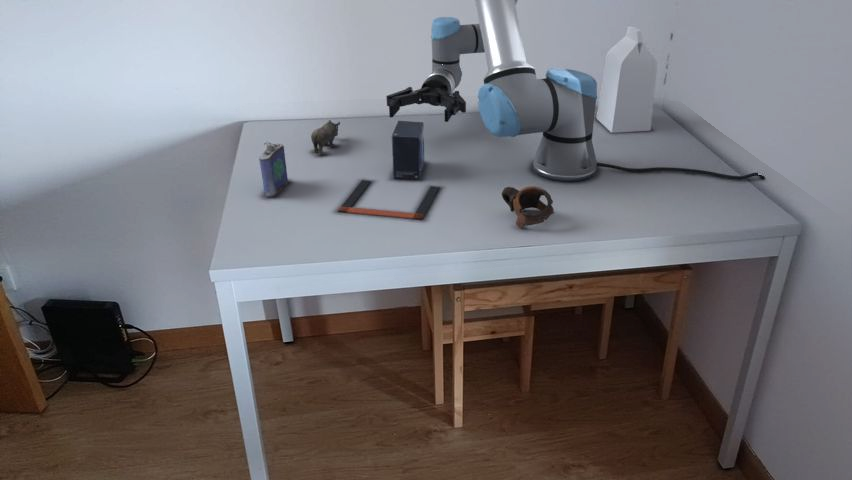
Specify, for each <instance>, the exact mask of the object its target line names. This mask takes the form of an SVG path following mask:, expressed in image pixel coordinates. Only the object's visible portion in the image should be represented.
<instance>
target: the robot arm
mask: <svg viewBox="0 0 852 480" xmlns="http://www.w3.org/2000/svg"><path fill="white" fill-rule="evenodd" d="M518 1H519V0H474V2H475V8H476V9H475V10H476V13H477V19H478V23H471V24H461V23H460V20H459V19H458V18H457V17H453V16H439V17H435V18H434V19H433V20H432V22H431V35H430V38H431V68H432V69H431V73H430V74H429V76H428V77H427V78H426V79H425V80H424V82H423V83H422V84H421V87H420V88H418V89H416V90H414V89H413V87H412V86H408V87H406V88H405V89H401V90H399V91H397V92H393V93H391V94H388V95H386V96H385V97H386V106H387V107H388V110H389V111H388V113H389V114H388V115H389V118H394V117H395V115H396V114H397V113H398V112H399V111H400V110H401V107H406V106H411V105H414V104H417V105H423V104H427V105H428V104H429V105H430V106H433V107H444V108H445V109H444V122H445V123H448V122H449V121H450V119H451V118H452V116H456V115H457V113H459V112H461V113H466V112H467V102H466V101H465V99H464V98H463V97H462V95H460V91H459V90H455V89H456V88H457V87H458V86H459V85H460V83H461V82H462V78H461V77H463V70H462V71H461V69H462V67H461V65H460V61H461V60H460V59H461V57H460V56H461V55H467V54H470V55H471V54H482V53H484V54H485V60H486V65H487V69H488V70H487V72H486V74H485V76H484V77H483V85H481V86H480V88H479V90H478V94H477V99H478V102H477V104H478V110H479V114H480V117H481V120H482V123H483V124H484V126H485V127H486V129H487V131H489V132H490V134H492V135H493V136H495V137H498V138H504V137H509V138H516V137H517V136H520V135H521V136H522V135H531V134H538V133H542V137H541V140H540V142H539V144H538V146H537V149H536V152H535V155H534V156H533V160H532V169H533V171H534V172H535V173H536V174H538V175H539V176H540V177H543V178H546V179H549V180H553V181H559V182H579V181H584V180H589V179H590V178H592V177H594V176H595V175H596V173H597V170H598V169H597V167H602V168H609V169H614V170H618V171H623V172H631V173H643V172H644V173H645V172H660V171H661V172H663V171H665V172H681V173H682V172H684V173H693V174H700V175H701V174H702V175H708V176H713V177H717V178H723V179H729V180H746V179H749V178H753V177H759V178H760V179H762V180H766V177H765V176H764V175H763V174H762V175H763V176H762V175H758V173H759V172H751V173H748V174H744V175H731V174H725V173H720V172H715V171H709V170H703V169H694V168H686V167H685V168H684V167H670V166H669V167H668V166H665V167H664V166H657V167H655V166H654V167H640V168H639V167H638V168H634V167H633V168H631V167H625V166H621V165H620V166H619V165H615V164H610V163H603V162H598V161H597V157H596V153H595V148H594V144H593V133H594V132H593V131H594V124H595V123H594V122H595V115H596V104H597V99H598V82H597V80H596V78H594V76H592V75H590V74H588V73H586V72H583V71H579V70H575V69H570V68H562V67H554V68H550V69H547V70H546V73H545V77H544V78H538V77H537V74H536V69H535V67H534V66H532V65H531V64H529V63H528V61H527V57H526V53H525V48H524V43H523V38H522V33H521V27H520V21H519V17H518V12H517V7H516V6H517V3H518ZM442 64H443V65H442ZM460 67H461V68H460Z"/></svg>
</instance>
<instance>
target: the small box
mask: <svg viewBox="0 0 852 480" xmlns="http://www.w3.org/2000/svg"><path fill="white" fill-rule="evenodd" d="M424 127H425V125H424V121H409V120H398V121H397V122H396V125H395V127H394V128H393V129H394V130H393V131H392V134H391V151H392V153H391V154H392V178H393V179H400V180H420V179H421V175H422V172H423V168H424V165H425V128H424Z"/></svg>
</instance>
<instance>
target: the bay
mask: <svg viewBox="0 0 852 480" xmlns="http://www.w3.org/2000/svg"><path fill="white" fill-rule="evenodd" d="M371 182H372V181H371V180H367V179H366V180H365V179H362V180H361V181H360V182H359V184H358V185H357V186H356V187H355V188H354V189H353V190H352V192H351V193H350V195H349V196H348V198H346V200H345V201H344V202H343V204H342V205H341V206H340V207H339V209H338V210H337V212H338V213H345V214H347V213H348V214H355V215H356V214H358V215H359V214H360V215H368V216H379V217H389V218H399V219H409V220H420V221H423V219H424V218H425V215H426V213H427V212H428V210H429V208H430V207H431V205H432V203H433V201H434V199H435V197H436V196H437V194H438V192H439V190H440V186H434V185H432V186H431V185H430V187H429V189H428V190H427V192H426V193H425V196H424V197H423V198H422V201H421V203H420V204H419V206H418V208H417V210H416V211H415V213H414V212H402V211H393V210H382V209H372V208H370V209H369V208H363V207H361V208H360V207H353V206H354V204H355V203H356V202H357V200H359V198H360V197H361V195H363V193H364V191H366V189H367V188H368V187H369V185H370V183H371Z"/></svg>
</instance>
